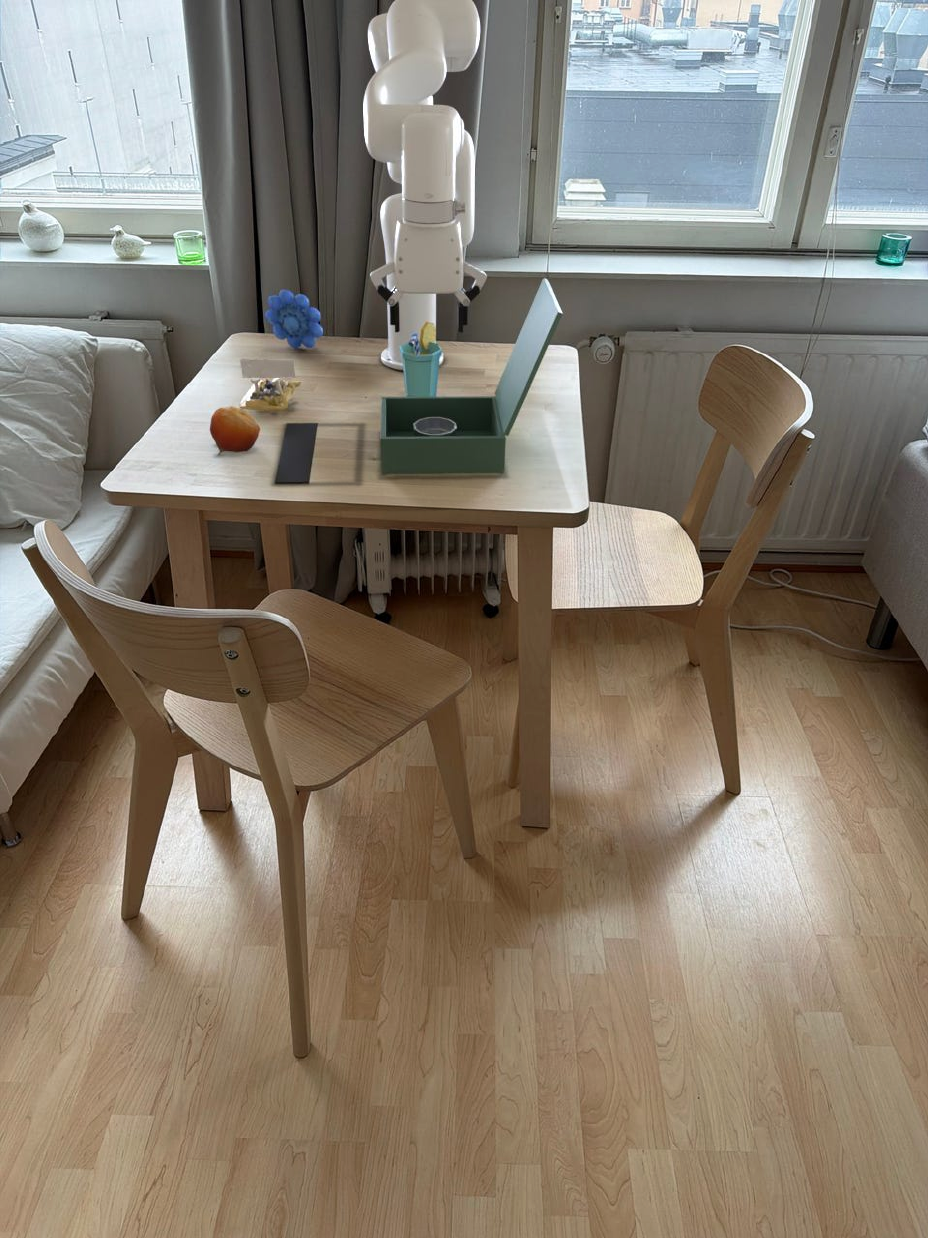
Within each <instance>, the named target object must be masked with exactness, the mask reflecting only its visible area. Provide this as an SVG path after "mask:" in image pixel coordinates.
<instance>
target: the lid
mask: <svg viewBox="0 0 928 1238" xmlns="http://www.w3.org/2000/svg"><path fill="white" fill-rule="evenodd" d="M563 315H564V313H563V311H562V309H561V307H560V304H559V302H558V300H557V298H556V295H555V293H554V291H553V288H552V286H551V283H550V281H549V279H547V278H544V277H543V278H542V280H541V283H540V285H539V288H538V290H537V292H536V294H535V297H534V299H533V302H532V304H531V306H530V309H529V310H528V313H527V316H526V317H525V320H524V323H523V325H522V327H521V329H520V332H519V334H518V337H517V339H516V341H515V344H514V346H513V349H512V351H511V353H510V355H509V357H508V360H507V363H506V365H505V367H504V370H503V372H502V374H501V377H500V379H499V381H498V384H497V386H496V388H495V390H494V396H495V397H496V401H497V406H498V410H499V415H500V419H501V424H502V428H503V433H504V435H505V436H506V437H509V436H510V433H511V431H512V430H513V427H514V425H515V422H516V420H517V417H518V416H519V413H520V411H521V409H522V406H523V404H524V402H525V400H526V397H527V395H528V393H529V391H530V388H531V386H532V385H533V382H534V379H535V377H536V375H537V373H538V370H539V369H540V366H541V364H542V361H543V360H544V357H545V355H546V352H547V350H548V348H549V346H550V344H551V342H552V339H553V337H554V334H555V332H556V330H557V328H558V326H559V323H560V321H561V319H562V316H563Z"/></svg>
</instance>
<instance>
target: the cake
mask: <svg viewBox="0 0 928 1238" xmlns="http://www.w3.org/2000/svg"><path fill="white" fill-rule="evenodd" d="M239 361H240V368H241V375H242V378H243V379H250V383H252V385H251V386H250V387H249V389H248V391H247V392H246V393H245V395H244V397H242V398H241V400H240V402H239V404H238V405H239V409H242V410H249V411H261V412H262V411H263V412H271V413H272V412H273V413H274V412H281V411H285V410H287V409H288V408H289V407H288V405H289V404H290V402H292V397H293V394H294V392H295V389H296V388H298V387H299V386H300V385H301V384H302V382H301V381H300V380H286V379H287V378H292V379H293V378H294V379H295V378H296V372H295V371H296V370H295V362H294V361H295V360H294V359H290V360H289V359H288V360H287V359H285V360H283V359H266V358H263V359H257V358H256V359H254V358H253V359H251V358H250V359H249V358H248V359H247V358H240V359H239ZM284 378H286V379H284ZM365 398H366V399H367V398H368V396H364V399H365Z"/></svg>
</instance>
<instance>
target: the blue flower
mask: <svg viewBox="0 0 928 1238" xmlns="http://www.w3.org/2000/svg"><path fill="white" fill-rule="evenodd" d="M278 295H279V296H277V295H274V294H272V295H271V296H269V297H268V299H267V304H268V307H269V309H268V310H266V312H265V320H266V321H267V322H268V323H269V324H271V325H273V327H272V332H273V336H275V337H276V338H277V339H279V340H282V341H283V340H285V339H286V341H287V344H288V345H289V347H290V348H292V349H299V348H301V347H302V345H303V346H304V347H306V348H307V349H312V348H313V347H315V346H316V339H318V338H321V337H322V336H323V335H324V331H323V327H322V325H320V324H319V322H320V321H321V320H322V319H321V318H322V317H321V312H320V311H319V310H318V309H317V308H316V307H314V306H313V307H312V306H310V300H309V298H308V297H307V296H306V295H304V294H302V293H298V294H296V295H294V293H293V292H292V291H291V290H289V289H281V290H280V292H279V293H278Z"/></svg>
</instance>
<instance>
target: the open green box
mask: <svg viewBox="0 0 928 1238" xmlns="http://www.w3.org/2000/svg"><path fill="white" fill-rule="evenodd" d="M427 417H442V418H447V419H450V420H452V421H453V422H455V423H456V427H457V434H456V436H444V437H414V423H415V422H416V421H418V420H419V419H423V418H427ZM379 437H380V438H379V439H380V466H381V467H380V470H381V471H380V472H381V475H417V474H418V475H419V474H420V475H421V474H422V475H425V474H426V475H428V474H429V475H431V474H433V475H436V474H504V473H505V464H506V463H505V462H506V445H507V444H506V443H507V438H506V437H507V436H506V435H504V433H503V428H502V424H501V419H500V415H499V410H498V406H497V401H496V397H495V395H494V396H493V395H492V396H491V395H490V396H489V395H487V396H485V395H482V396H480V395H479V396H474V395H473V396H470V395H469V396H436V397H406V396H381V397H380V436H379Z"/></svg>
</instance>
